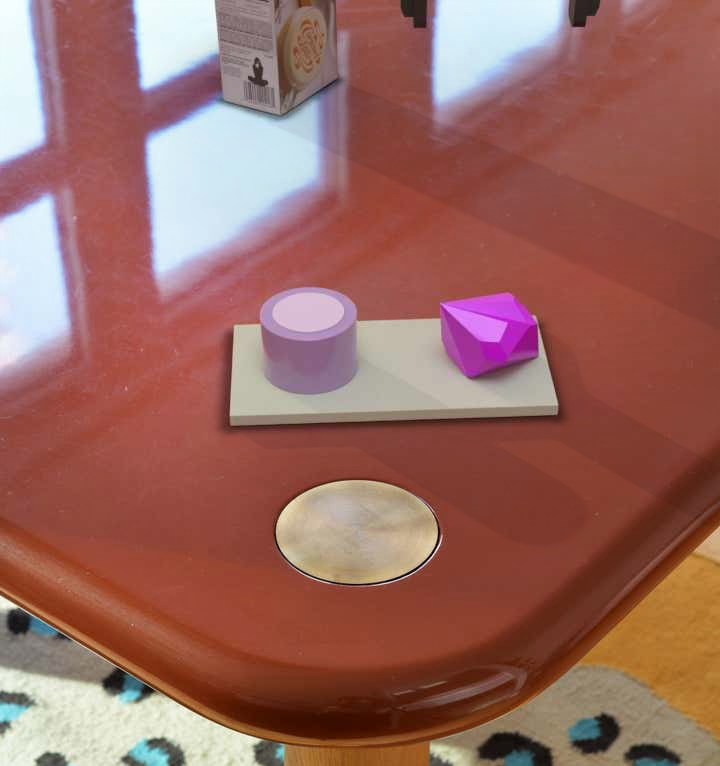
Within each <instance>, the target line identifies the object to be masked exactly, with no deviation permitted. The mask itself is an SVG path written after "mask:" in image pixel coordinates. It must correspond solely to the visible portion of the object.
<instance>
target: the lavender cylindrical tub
mask: <svg viewBox="0 0 720 766" xmlns="http://www.w3.org/2000/svg"><path fill="white" fill-rule="evenodd" d="M357 321H358V309H357V307H356V304H355V303H354V301H353V300H352V299H351V298H350V297H348V296H347V295H346V294H343V293H341V292H339V291H337V290H333V289H331V288H325V287H320V286H319V287H317V286H305V287H304V286H303V287H296V288H295V287H294V288H291V289H287V290H283V291H281V292H278V293H276V294H274V295H273V296H271V297H269V298H268V299H267V300H266V301H265V302H264V303H263V304H262V306H261V308H260V310H259V324H260V331H261V345H262V359H263V371H264V374H265V376H266V378H267V379H268V380H269V381H270V382H271V383H272V384H273V385H275V386H276V387H278V388H280V389H282V390H285V391H288V392H292V393H298V394H320V393H325V392H330V391H333V390H336V389H338V388H340V387H342V386H344V385H346V384H347V383H348V382H350V381H351V380H352V379H353V377H354V376H355V374H356V372H357V369H358V325H357Z"/></svg>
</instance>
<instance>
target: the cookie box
mask: <svg viewBox="0 0 720 766" xmlns="http://www.w3.org/2000/svg"><path fill="white" fill-rule="evenodd" d="M214 10H215V20H216V22H215V23H216V32H217V43H218V55H219V67H220V78H221V89H222V99H223V101H225V102H226V103H231V104H234V105H239V106H242V107H246V108H249V109H255V110H256V111H257V110H258V111H261V112H265V113H269V114H272V115H276V116H280V117H281V116H284V115H285V114H287V113H288V112H289V111H291V110H292V109H293V108H296V107H297V106H298V105H299V104H301V103H303V102H304V101H306V100H307V99H309V98H310V97H312V96H313V95H314V94H316V93H317V92H319V91H320V90H322V89H323V88H324V87H326V86H328V85H329V84H331V83H332V82H333V81H334V82H335V80H337V79H338V78H339V64H338V63H339V62H338V59H339V58H338V31H337V30H338V28H337V25H338V24H337V1H336V0H214Z"/></svg>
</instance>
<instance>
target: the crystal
mask: <svg viewBox="0 0 720 766" xmlns="http://www.w3.org/2000/svg"><path fill="white" fill-rule="evenodd" d="M439 316H440V317H439V319H441V340H442V343H443V345H444V348H445V350H446V353H447V354H448V355H449V356H450V358H451V359H452V360H453V361H454V362H455V364H456V365H457V366H458V367H459V369H460V370H461V371H462V372H463V373H464V375H465V376H466V377H475V376H478V375H481V374H484V373H487V372H490V371H494V370H497V369H500V368H503V367H506V366H509V365H513V364H516V363H519V362H522V361H525V360H528V359H531V358H535V357H538V356H539V344H538V325H539V323H538V324H537V322H538V321H537V322H536V321H535V320H534V318H533V317H532V316H533V315H532V314H531V313H530V311H528V310H527V308H526V307H525V306H524V305H523V304H522V303H521V302H520V301H519V300H518V298H516V297H515V295H513V294H511V293H510V292H502V293H501V292H500V293H496V294H489V295H484V296H483V295H482V296H477V297H470V298H465V299H458V300H451V301H446V302H439Z"/></svg>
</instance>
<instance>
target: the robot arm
mask: <svg viewBox="0 0 720 766" xmlns="http://www.w3.org/2000/svg"><path fill="white" fill-rule="evenodd" d="M399 3H400V5H399V6H400V11H401V13H402V15H403V18H412V28H413V29H427V21H428V20H427V19H428V18H427V17H428V0H399ZM600 7H601V0H568V9H567V10H568V12H567V13H568V19H569V23H570V26H571V28H586V25H587V18H588V17H595V16H596V14H597V13H598V11H599V9H600Z"/></svg>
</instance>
